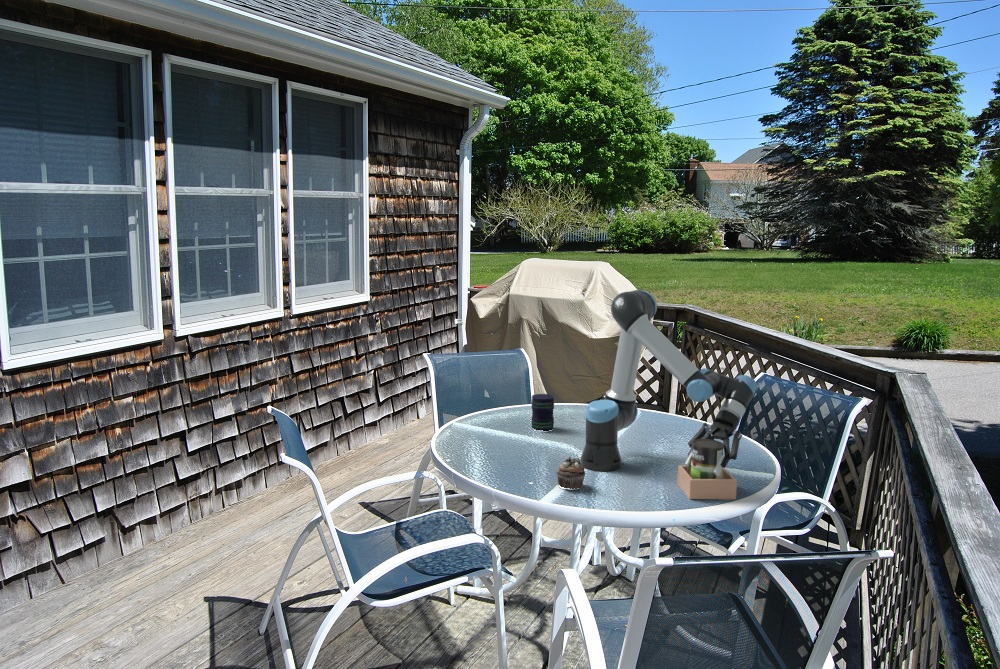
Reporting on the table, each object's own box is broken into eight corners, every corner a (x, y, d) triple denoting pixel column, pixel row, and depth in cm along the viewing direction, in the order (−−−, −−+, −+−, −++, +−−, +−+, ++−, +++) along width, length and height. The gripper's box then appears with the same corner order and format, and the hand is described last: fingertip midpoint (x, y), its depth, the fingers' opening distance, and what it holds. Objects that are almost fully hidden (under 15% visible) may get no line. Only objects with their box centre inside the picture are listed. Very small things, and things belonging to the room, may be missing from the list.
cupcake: (582, 481, 244) (583, 453, 243) (586, 491, 235) (587, 462, 233) (554, 481, 244) (555, 453, 243) (557, 491, 235) (558, 462, 233)
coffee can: (702, 491, 228) (704, 449, 226) (683, 481, 238) (685, 440, 236) (728, 487, 232) (730, 445, 230) (709, 477, 241) (710, 437, 240)
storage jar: (527, 430, 309) (527, 397, 307) (537, 425, 317) (538, 393, 315) (547, 433, 304) (547, 399, 302) (557, 428, 312) (558, 395, 310)
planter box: (689, 499, 228) (690, 480, 227) (677, 483, 242) (677, 465, 242) (735, 499, 228) (736, 480, 227) (720, 483, 243) (721, 465, 242)
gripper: (764, 428, 234) (736, 485, 226) (704, 415, 251) (676, 467, 243) (756, 415, 230) (728, 472, 222) (696, 403, 247) (668, 455, 239)
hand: (701, 470), depth 232 cm, fingers closed on coffee can, 10 cm apart
